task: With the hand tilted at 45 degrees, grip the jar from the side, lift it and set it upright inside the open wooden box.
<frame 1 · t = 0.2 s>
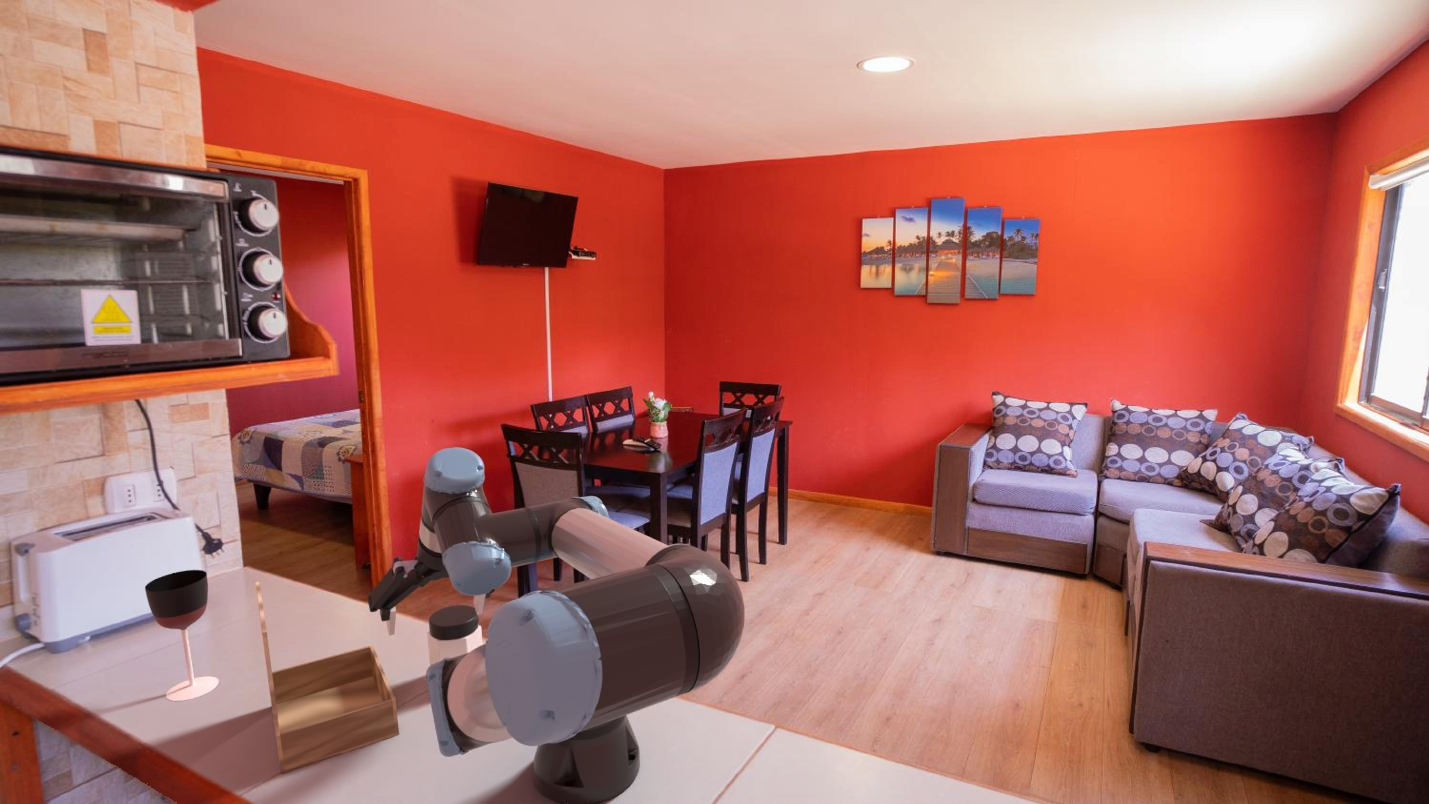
hand: (435, 617, 120), 15 cm above the kitchen counter, tool tilted 35°, fingers open, 13 cm apart
open wooden box: (333, 719, 118), on the kitchen counter
jar: (458, 679, 130), on the kitchen counter
wineglass: (192, 689, 127), on the kitchen counter
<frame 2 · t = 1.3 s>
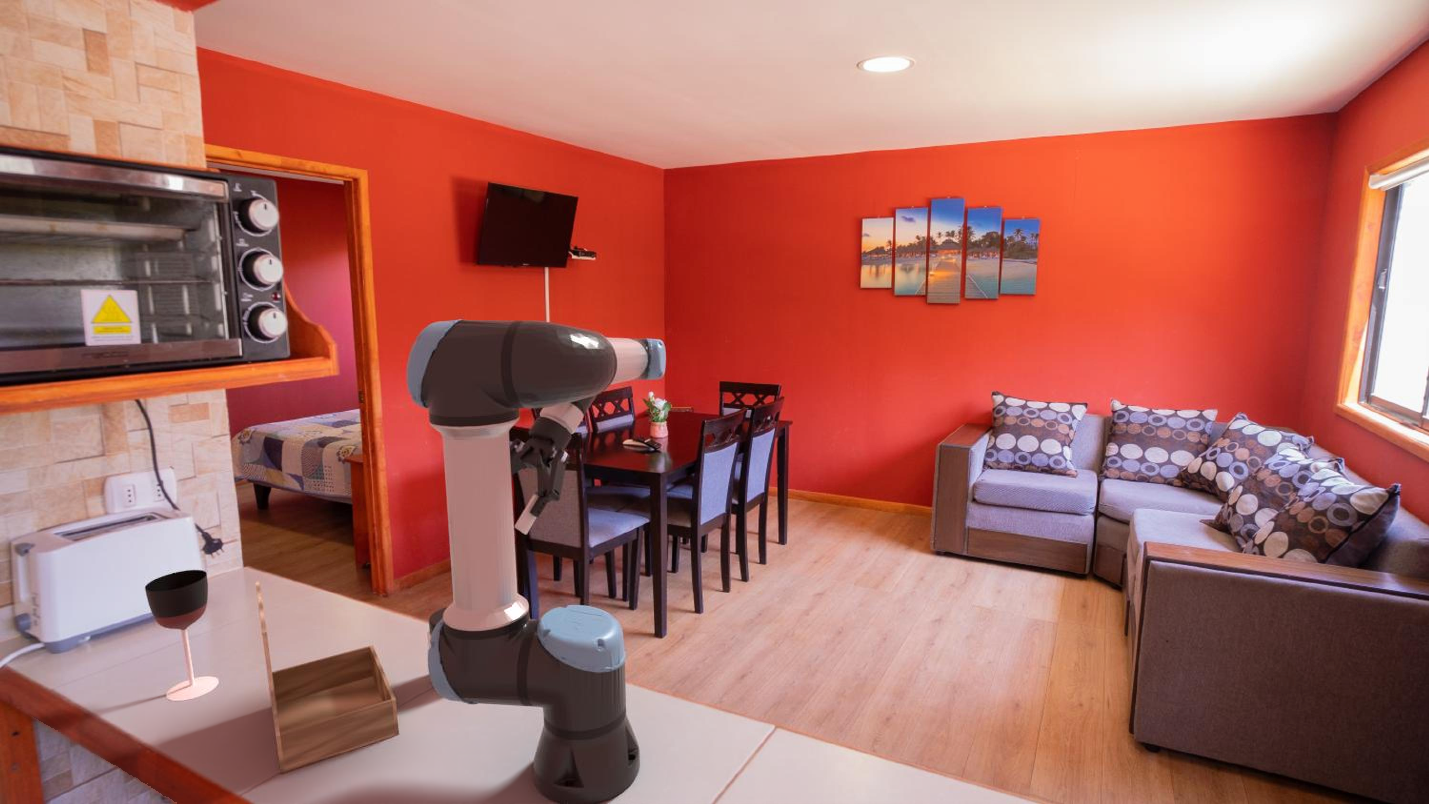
hand: (495, 522, 133), 26 cm above the kitchen counter, tool tilted 45°, fingers open, 13 cm apart
nothing on the kitchen counter moved.
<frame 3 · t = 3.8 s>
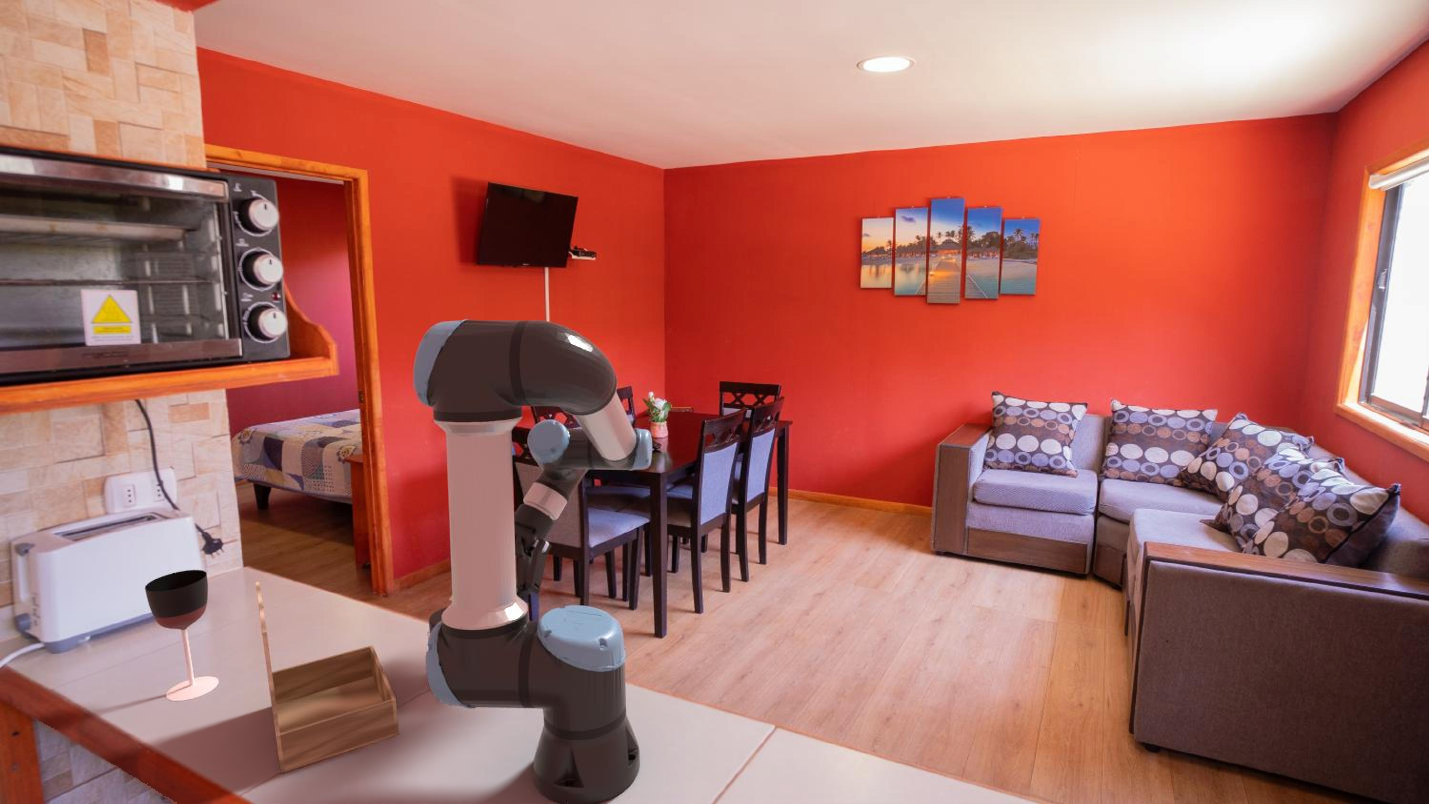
hand: (476, 613, 133), 10 cm above the kitchen counter, tool tilted 45°, fingers open, 13 cm apart
nothing on the kitchen counter moved.
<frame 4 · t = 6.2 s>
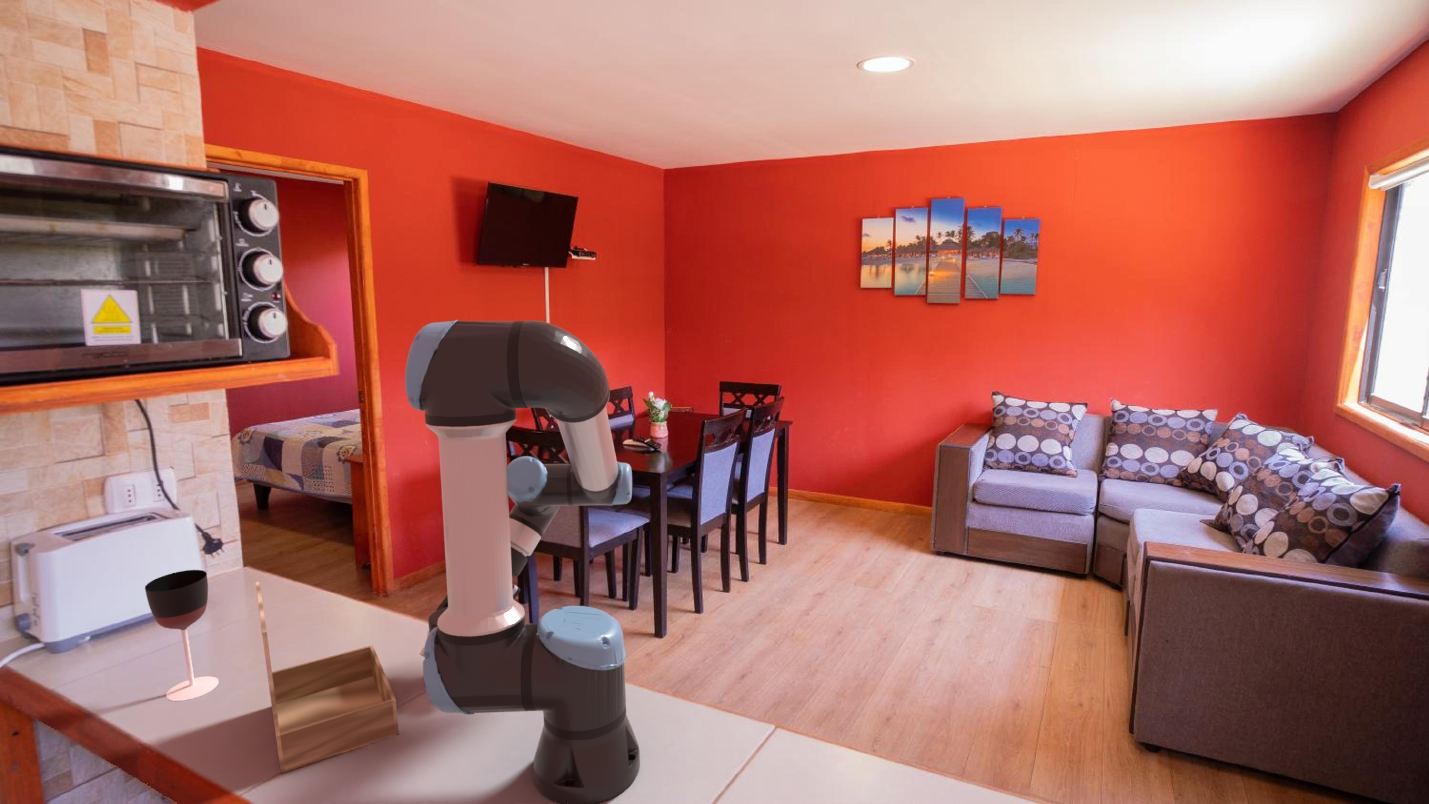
hand: (439, 665, 127), 4 cm above the kitchen counter, tool tilted 45°, fingers closed on jar, 8 cm apart
jar: (458, 678, 130), on the kitchen counter, touching gripper
everything else where it was.
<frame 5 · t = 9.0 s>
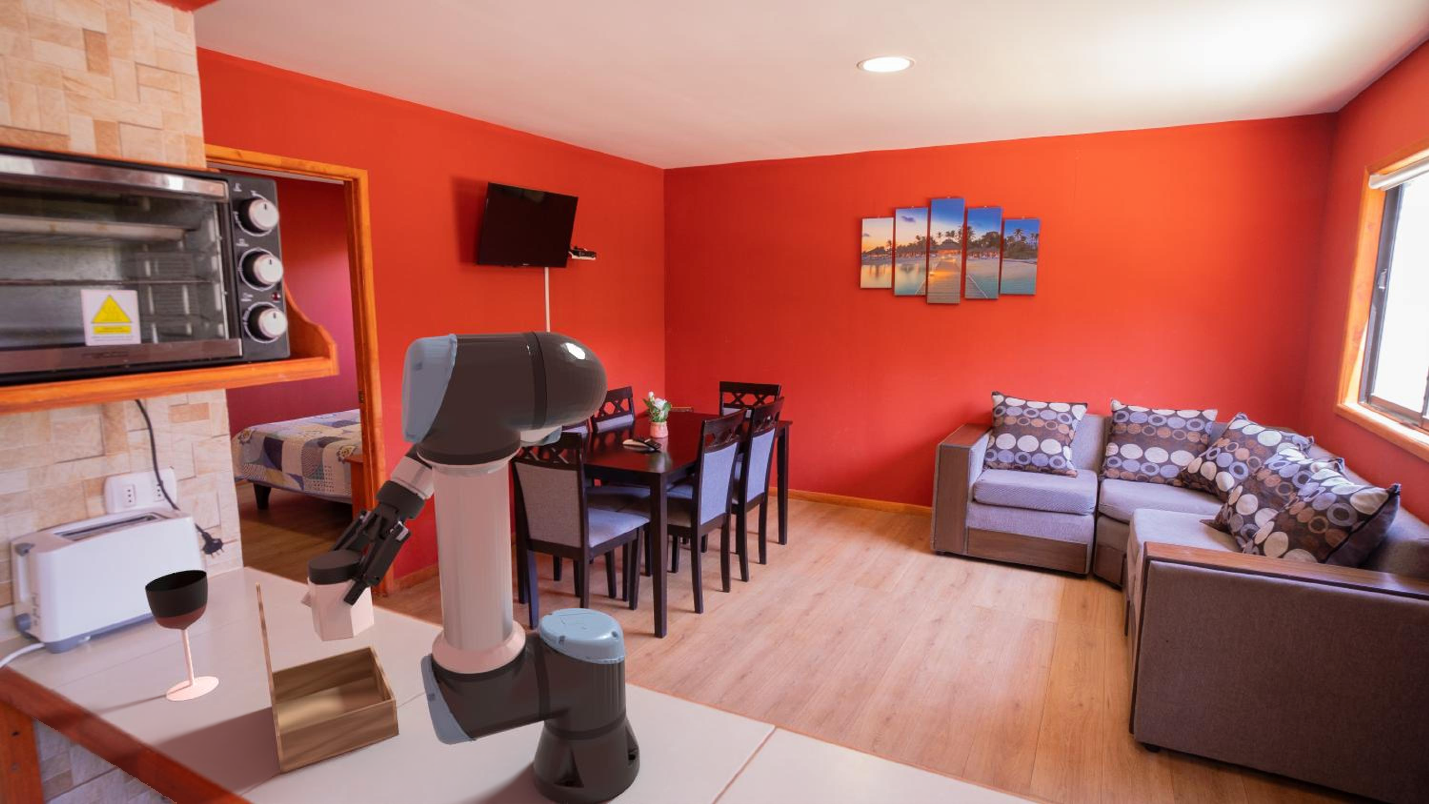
hand: (319, 613, 115), 18 cm above the kitchen counter, tool tilted 45°, fingers closed on jar, 8 cm apart
jar: (345, 629, 119), point 14 cm above the kitchen counter, touching gripper
everything else where it was.
when the fingers open (6 cm above the kitchen counter, at t = 12.1 s): jar drops 2 cm, resting on open wooden box.
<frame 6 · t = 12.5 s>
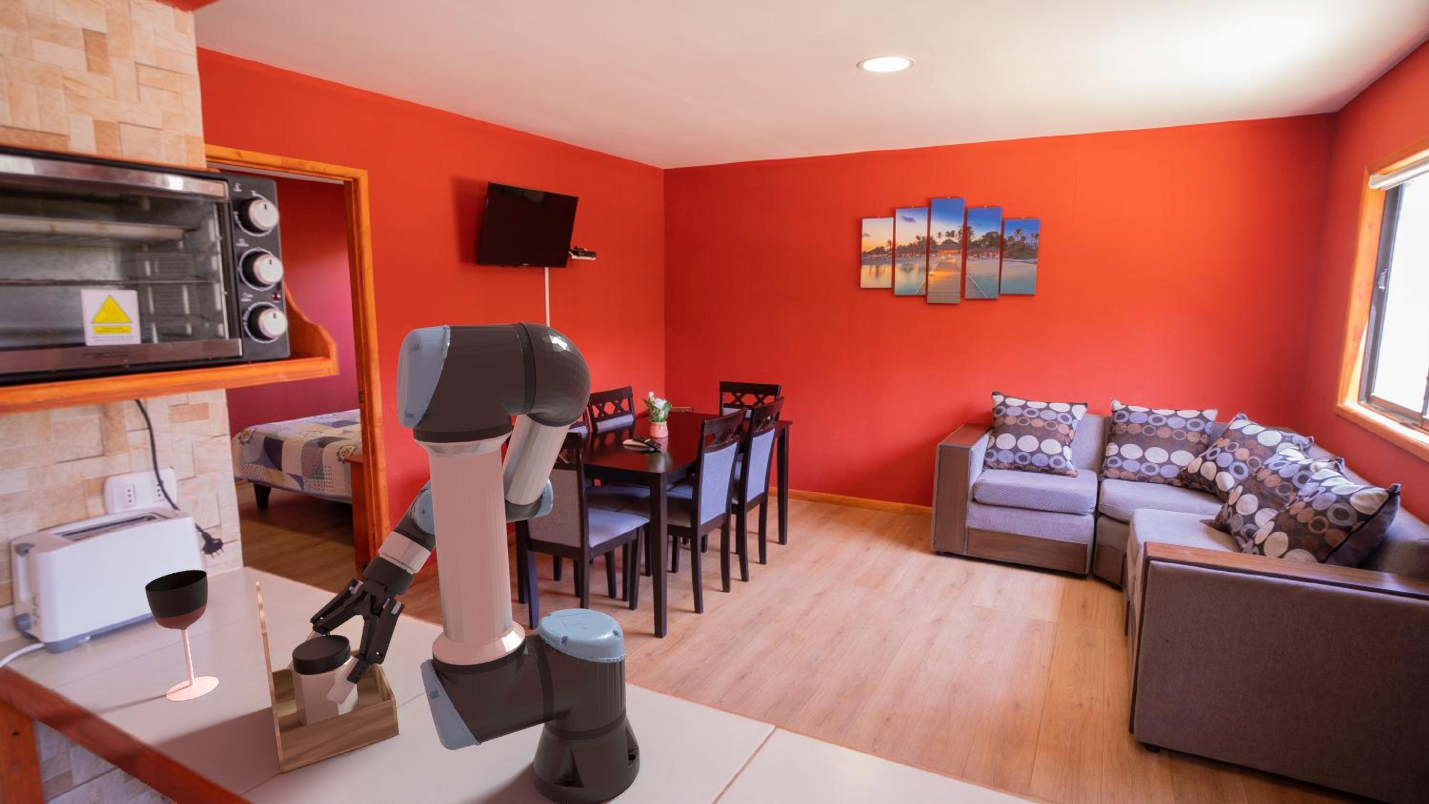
hand: (313, 686, 115), 7 cm above the kitchen counter, tool tilted 45°, fingers open, 13 cm apart
jar: (329, 716, 119), resting on open wooden box
everything else where it was.
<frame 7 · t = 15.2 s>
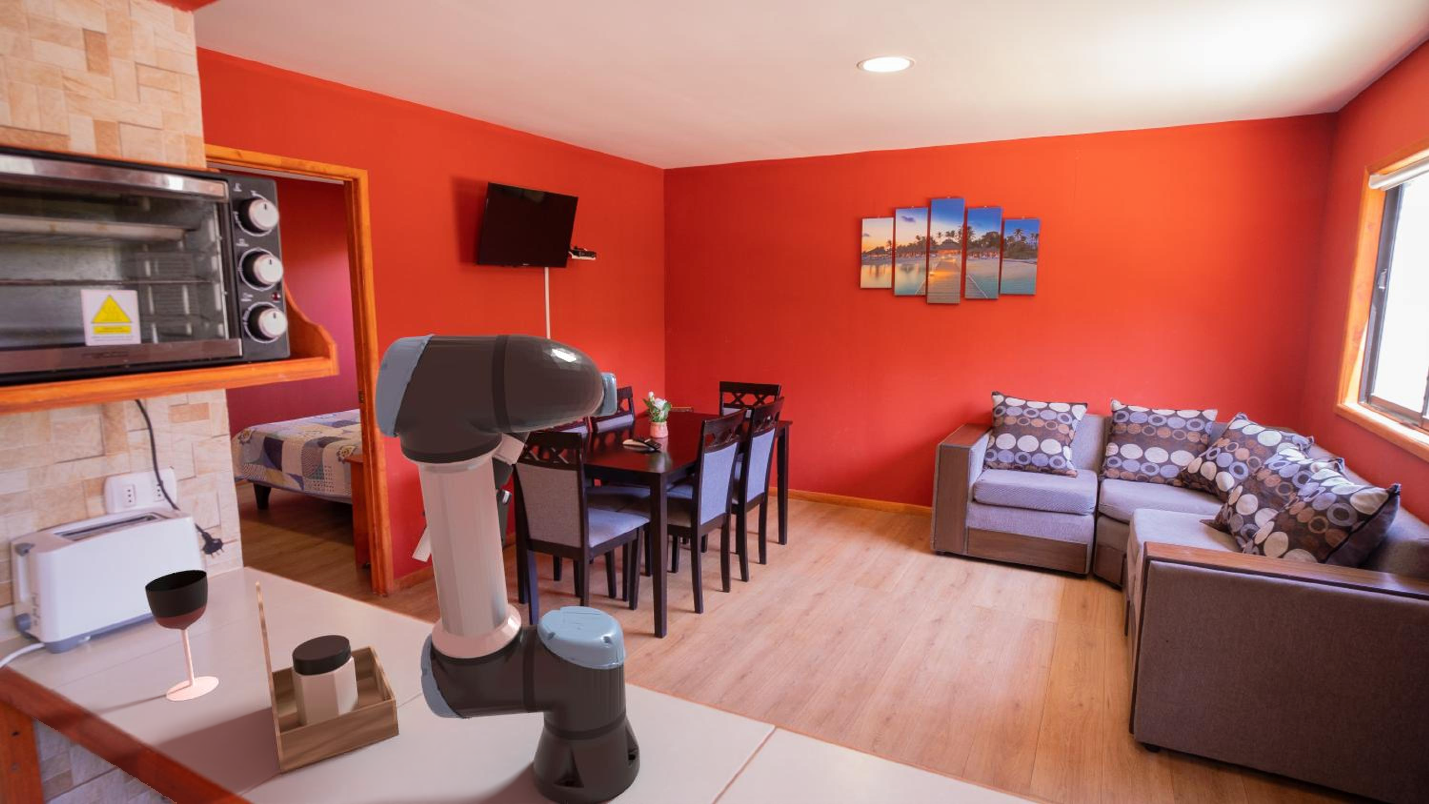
hand: (441, 570, 127), 20 cm above the kitchen counter, tool tilted 35°, fingers open, 13 cm apart
nothing on the kitchen counter moved.
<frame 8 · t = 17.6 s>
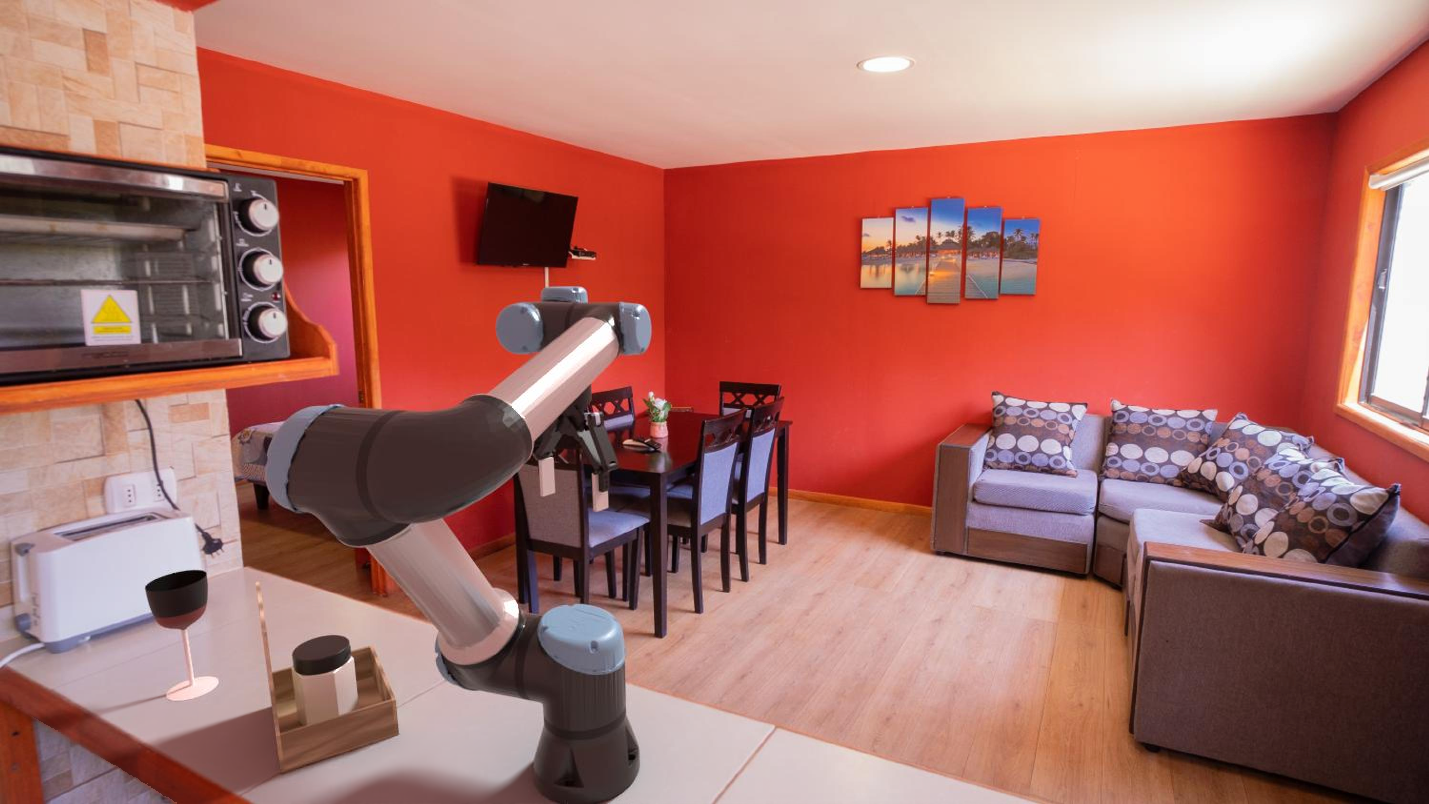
hand: (573, 501, 126), 32 cm above the kitchen counter, tool pointing down, fingers open, 13 cm apart
nothing on the kitchen counter moved.
at the end: jar inside the target area on the open wooden box (1.2 cm from its centre), point 0.2 cm above the open wooden box's base; jar tilted 0°; the gripper is holding nothing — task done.
